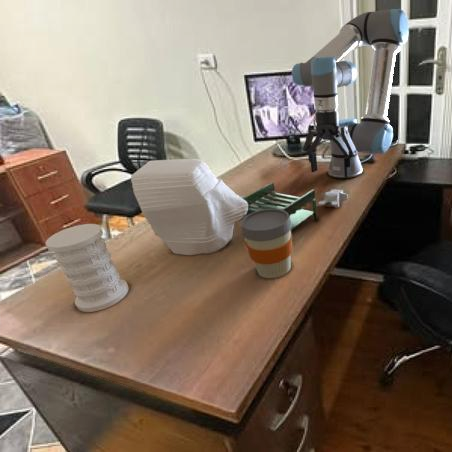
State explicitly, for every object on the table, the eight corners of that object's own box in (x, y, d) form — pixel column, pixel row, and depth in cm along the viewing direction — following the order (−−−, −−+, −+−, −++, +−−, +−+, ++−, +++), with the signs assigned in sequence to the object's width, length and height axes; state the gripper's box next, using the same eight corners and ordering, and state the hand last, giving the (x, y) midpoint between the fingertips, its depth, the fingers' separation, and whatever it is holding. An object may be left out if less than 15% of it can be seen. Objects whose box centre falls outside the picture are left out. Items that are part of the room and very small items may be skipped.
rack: (276, 210, 127) (271, 182, 122) (318, 219, 118) (314, 189, 113) (245, 230, 115) (239, 199, 110) (289, 241, 107) (284, 209, 101)
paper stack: (180, 229, 119) (157, 155, 107) (255, 231, 114) (240, 154, 102) (140, 265, 101) (107, 181, 88) (228, 268, 96) (205, 180, 84)
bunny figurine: (350, 187, 131) (340, 199, 118) (350, 200, 133) (340, 213, 120) (326, 186, 134) (313, 197, 120) (326, 199, 136) (314, 211, 122)
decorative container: (131, 299, 87) (103, 236, 78) (76, 319, 82) (41, 254, 73) (126, 277, 96) (101, 218, 87) (77, 293, 90) (45, 233, 82)
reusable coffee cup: (256, 256, 100) (247, 209, 93) (299, 254, 100) (293, 207, 93) (245, 283, 89) (233, 232, 82) (294, 281, 89) (286, 229, 82)
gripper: (288, 111, 115) (295, 172, 125) (355, 114, 103) (357, 181, 113) (301, 107, 121) (307, 166, 131) (366, 109, 109) (367, 174, 119)
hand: (330, 173), depth 122 cm, fingers open, 13 cm apart
